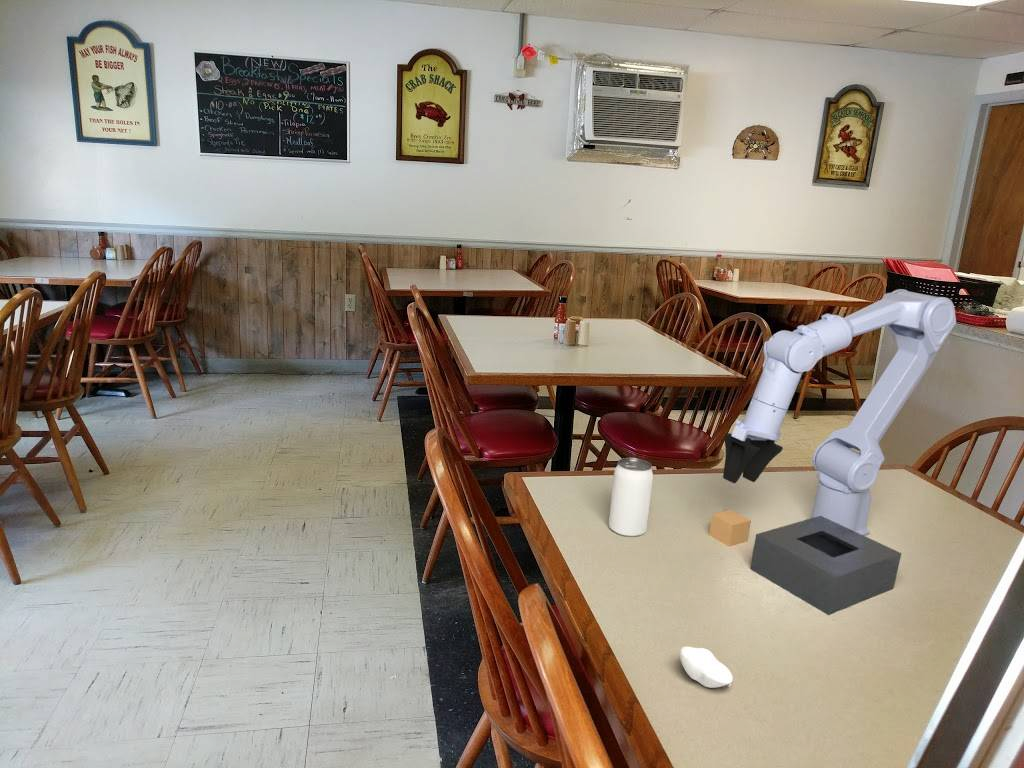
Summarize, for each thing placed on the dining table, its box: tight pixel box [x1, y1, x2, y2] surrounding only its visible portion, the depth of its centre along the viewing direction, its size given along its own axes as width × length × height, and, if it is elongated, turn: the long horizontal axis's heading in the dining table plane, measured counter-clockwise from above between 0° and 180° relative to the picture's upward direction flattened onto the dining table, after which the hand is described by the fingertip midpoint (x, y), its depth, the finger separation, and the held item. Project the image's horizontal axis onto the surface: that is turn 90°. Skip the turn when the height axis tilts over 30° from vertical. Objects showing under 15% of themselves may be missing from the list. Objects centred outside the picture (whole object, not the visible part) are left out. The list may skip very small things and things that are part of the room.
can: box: [608, 457, 654, 538], centre depth 123 cm, size 6×6×12 cm
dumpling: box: [679, 645, 734, 689], centre depth 86 cm, size 7×5×4 cm
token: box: [708, 509, 752, 547], centre depth 123 cm, size 4×4×4 cm
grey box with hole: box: [750, 516, 903, 616], centre depth 111 cm, size 16×14×6 cm
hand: (739, 480), depth 120 cm, fingers open, 7 cm apart
